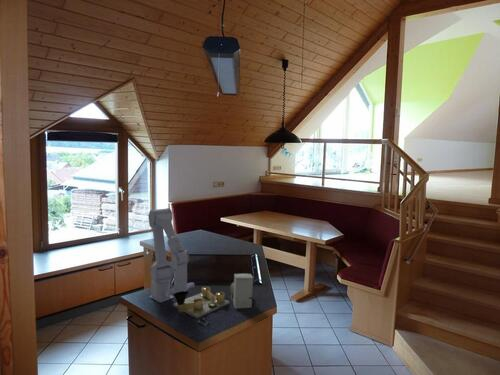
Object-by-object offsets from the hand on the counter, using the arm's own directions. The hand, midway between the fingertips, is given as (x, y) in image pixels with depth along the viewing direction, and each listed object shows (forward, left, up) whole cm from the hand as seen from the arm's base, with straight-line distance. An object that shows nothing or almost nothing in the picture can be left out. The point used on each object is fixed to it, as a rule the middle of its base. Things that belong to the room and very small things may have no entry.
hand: (180, 306), depth 161 cm
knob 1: (+4, +3, -1) cm, 5 cm away
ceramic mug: (+9, +29, -3) cm, 30 cm away
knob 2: (+1, +16, -1) cm, 16 cm away
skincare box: (+16, +24, -3) cm, 29 cm away
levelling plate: (+2, +11, -2) cm, 11 cm away
